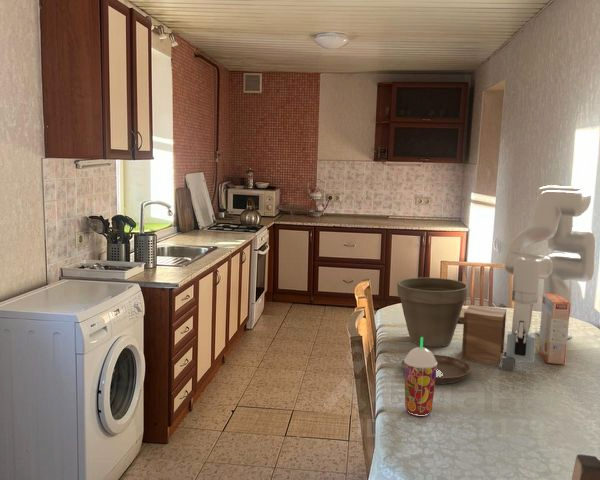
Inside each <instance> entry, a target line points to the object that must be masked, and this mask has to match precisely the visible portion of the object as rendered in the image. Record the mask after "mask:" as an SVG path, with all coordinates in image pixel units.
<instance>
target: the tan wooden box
mask: <svg viewBox="0 0 600 480" xmlns="http://www.w3.org/2000/svg"><path fill="white" fill-rule="evenodd" d="M466 309H467V310H466V311H465V312H464V324H463V325H462V326H463V328H462V331H463V332H462V345H461V360H462V361H464V360H465V361H470V362H476V363H481V364H489V365H495V366H499V365H500V362H501V359H502V357H503V356H504V351H505V335H506V322H507V321H506V320H507V309H506V308H501V307H491V306H483V305H473V304H470V305H468V306H467V308H466Z"/></svg>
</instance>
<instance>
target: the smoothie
mask: <svg viewBox="0 0 600 480" xmlns="http://www.w3.org/2000/svg"><path fill="white" fill-rule="evenodd" d="M434 355H435V354H433V352H432V351H431V350H430V349H428V348H427V347H425V346H423V337H421V339H420V345H419V346H417V347H414V348H413V349H411V350H409V352H408V353H407V355H406V357H405V358H404V359H403V360H404V362H405V363H404V368H405V370H404V407H405V409H406V411H407V410H408V411H409V412H410V413H413V414H418V415H425V414H428V413H429V412H431V411H432V410H433V403H434V402H433V401H434V394H435V386H436V384H435V379H436V370H437V363H438V362H437V361H436V359H435V356H434Z"/></svg>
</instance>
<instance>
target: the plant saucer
mask: <svg viewBox="0 0 600 480" xmlns="http://www.w3.org/2000/svg"><path fill="white" fill-rule="evenodd" d="M433 355H434V356H435V359H436V361H437V362H438V363H437V369H438V370H440V371H441V372H442V373H443V376H441V377H439V376H438V377H436V379H435V383H444V384H443V385H447V384H446V383H451V384H455V383H457V382H461V381H462V380H463V379H465V378H466V377H467V376H468V374H469V373H470V372H471V366H470V365H469V364H468V363H467V362H465V361H464V360H462V359H458V358H456V357H452V356H449V355H448V356H447V355H442V354H441V355H440V354H433ZM404 363H405V362H404V359H403V360H401V363H400V364H401V366H402V369H403V370H404V371H405V368H404ZM438 370H437V371H438ZM442 373H441V374H442ZM454 382H455V383H454Z"/></svg>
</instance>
